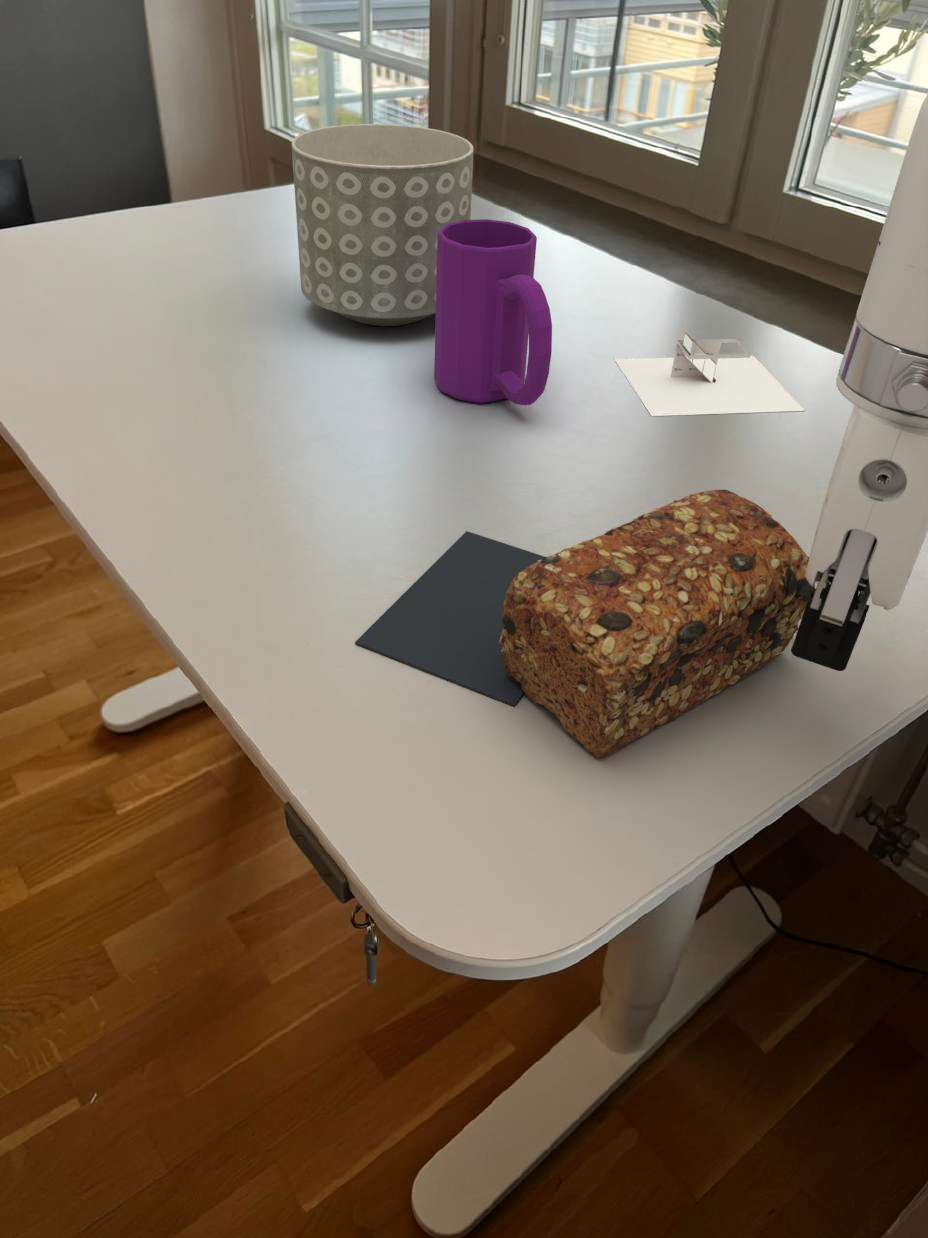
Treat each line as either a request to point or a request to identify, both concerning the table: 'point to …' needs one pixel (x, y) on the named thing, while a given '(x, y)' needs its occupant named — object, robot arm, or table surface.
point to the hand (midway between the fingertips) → (819, 655)
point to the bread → (654, 616)
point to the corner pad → (456, 617)
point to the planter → (377, 216)
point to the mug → (490, 314)
